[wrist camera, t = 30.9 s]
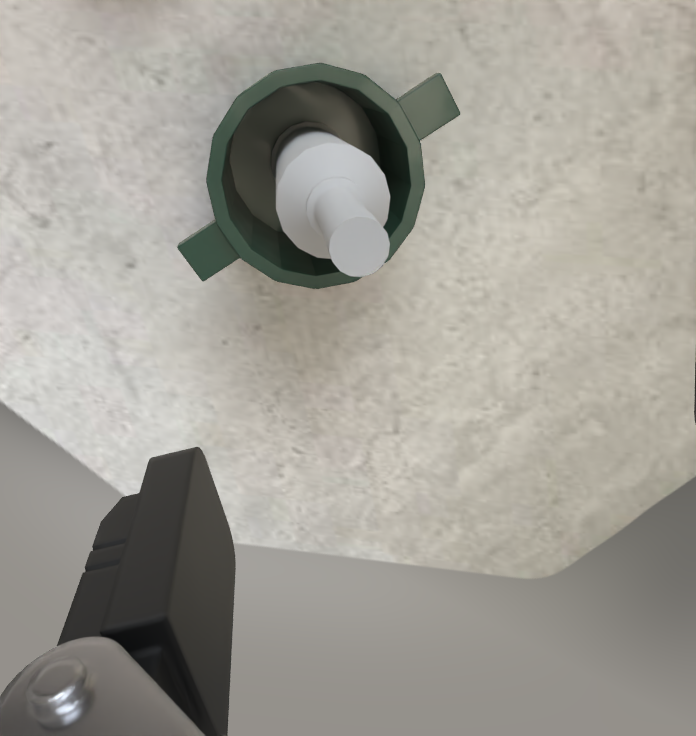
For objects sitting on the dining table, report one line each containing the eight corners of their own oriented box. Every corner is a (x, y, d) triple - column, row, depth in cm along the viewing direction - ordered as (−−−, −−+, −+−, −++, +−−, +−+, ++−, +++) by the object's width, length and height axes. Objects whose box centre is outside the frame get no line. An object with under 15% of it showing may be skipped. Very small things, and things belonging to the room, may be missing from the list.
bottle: (334, 209, 46) (406, 336, 24) (261, 187, 45) (263, 299, 22) (356, 133, 44) (458, 193, 22) (281, 109, 43) (306, 144, 21)
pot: (150, 155, 44) (119, 176, 34) (368, 5, 42) (401, -16, 32) (251, 295, 48) (249, 348, 39) (452, 166, 47) (501, 189, 37)
